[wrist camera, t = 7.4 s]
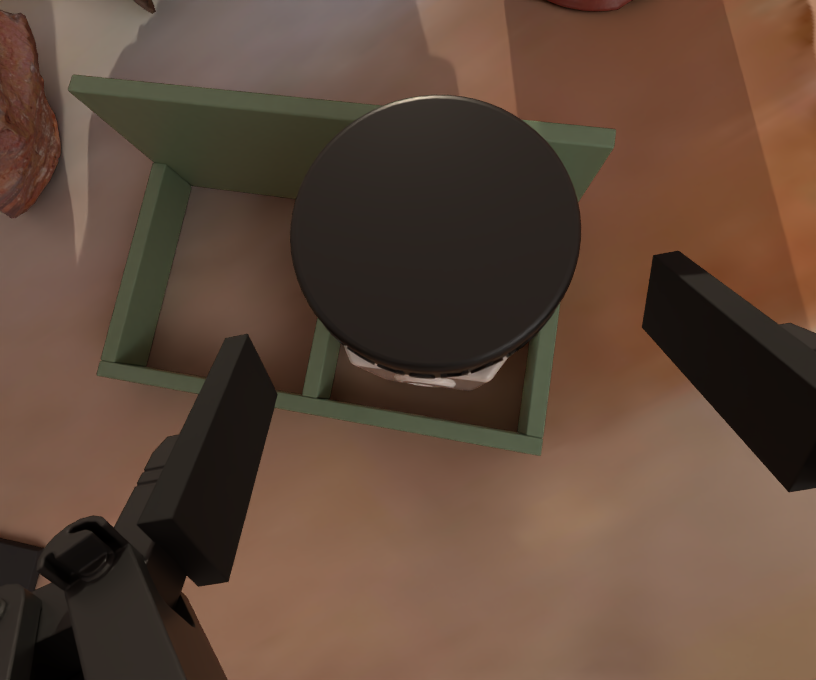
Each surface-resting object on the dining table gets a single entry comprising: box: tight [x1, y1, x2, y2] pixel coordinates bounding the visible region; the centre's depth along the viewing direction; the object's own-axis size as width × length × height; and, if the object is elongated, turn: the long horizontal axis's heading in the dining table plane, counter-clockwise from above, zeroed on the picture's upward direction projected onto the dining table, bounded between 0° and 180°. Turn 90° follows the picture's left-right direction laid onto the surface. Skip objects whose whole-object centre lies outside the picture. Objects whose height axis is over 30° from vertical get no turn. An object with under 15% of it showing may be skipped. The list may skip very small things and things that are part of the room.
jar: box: [290, 95, 581, 391], centre depth 18 cm, size 9×8×12 cm
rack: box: [68, 75, 616, 456], centre depth 20 cm, size 22×13×8 cm, turn 80°
